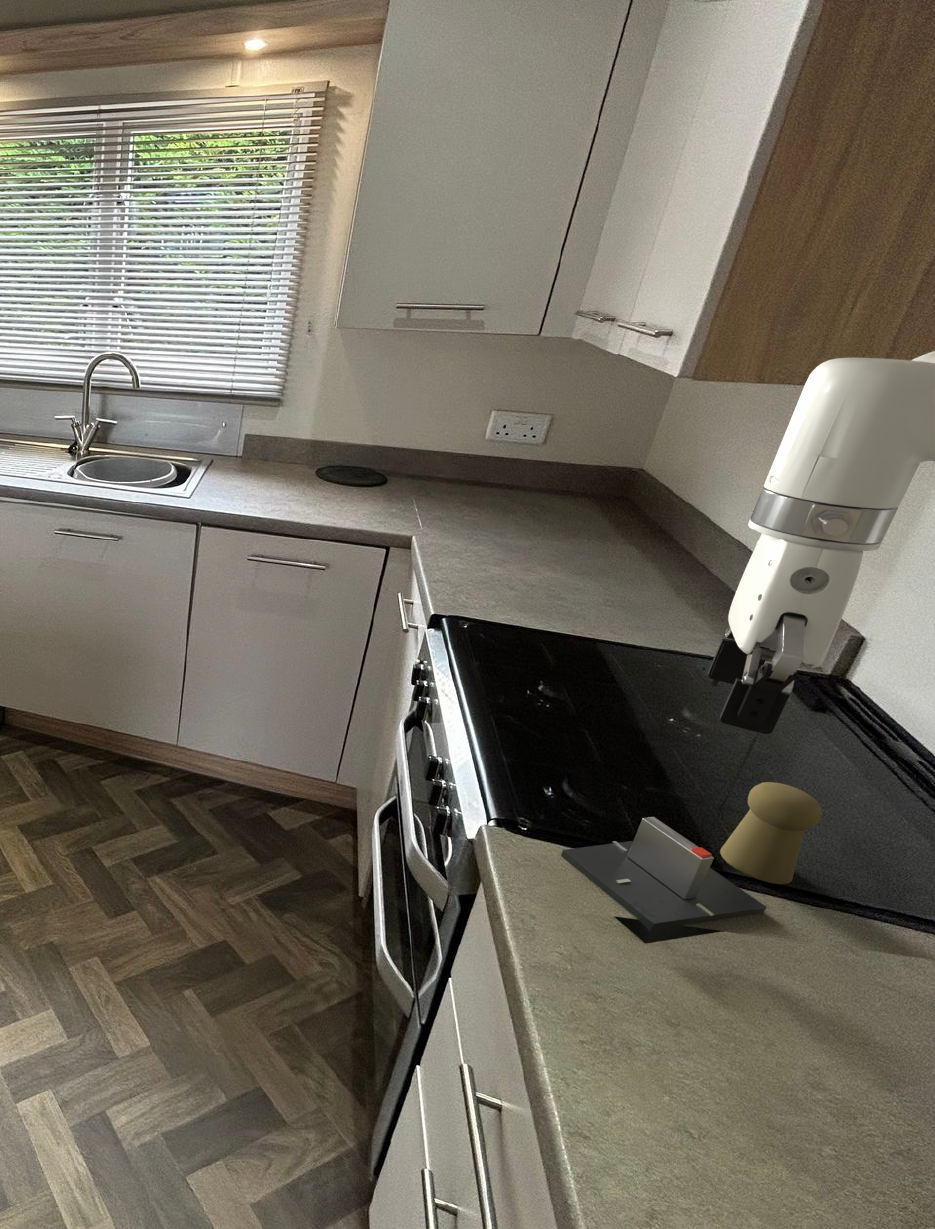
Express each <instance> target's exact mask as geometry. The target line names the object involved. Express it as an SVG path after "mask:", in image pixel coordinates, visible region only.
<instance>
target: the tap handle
mask: <svg viewBox="0 0 935 1229" xmlns="http://www.w3.org/2000/svg"><path fill="white" fill-rule="evenodd" d="M632 841H633V843H632V846H631V848H630V851H629V853H628V856H627V857H628V858H630V859H631V860H632V861H634V862H635V863H636V864H638V865H639V866H640V867H642V868H643V869H644V870H646V871H647V872H648V873H650V874H651V875H652V876H654V877H655V878H656V879H658V880H659V881H660V882H662V883H663V884H664V885H666V886H667V887H668V888H670V889H671V890H672V891H674V892H675V893H676V894H678V895H679V896H680V897H682V898H683V899H691V898H696V897H697V894H698V892H699V890H700V888H701V886H702V883H703V881H704V879H705V877H706V875H707V872H708V870H709V868H711V865H713V864H712V863H713V861H714V859H715V857H714V856H713V855H712V853H711V852H709V851H707V850H706V849H705V848H703V847H702V846H701V847H699V846H698V845H696V844H695V843H694V842H692V841H690V840H689V839H687V838H686V837H684V836H683V835H682V834H680V833H678V832H677V831H675V830H674V829H672V828H671V827H669V826H668V825H667V824H665V823H664V822H662V821H661V820H659V819H657V817H655V816H650V817H649V816H648V817H642V819H641V821H640V824H639V826H638V828H637V830H636V834H635V835H634V838H633V840H632Z"/></svg>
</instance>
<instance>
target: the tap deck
mask: <svg viewBox="0 0 935 1229" xmlns="http://www.w3.org/2000/svg"><path fill="white" fill-rule="evenodd" d="M633 841H634V840H631V841H630V840H629V841H622V842H617V841H616V840H614V841H612V843H606V844H598V845H592V846H591V845H590V846H584V847H583V846H582V847H575V848H574V847H573V848H568V849H562V851H561V854H560V856H561V858H562V859H564V860H565V861H566V862H568V864H570V865H571V866H572V867H574V868H575V869H576V870H577V871H579V872H580V874H582V875H583V876H585V877H586V878H587V879H588V880H590V881H591V882H592V883H593V884H595V885H596V886H597V887H598V888H599V889H600V890H602V891H603V892H604V893H606V894H607V895H608V896H609V897H610V898H612V899H613V900H614V901H615V902H616V903H618V904H619V905H620V906H621V907H622V908H624V909H625V910H626V911H627V912H628V913H630V914H631V915H632V916H634V917H635V918H632V917H631V918H630V917H624V916H623V917H622V916H615V915H614V916H613V918H615V920H617V921H618V923H621V924H622V925H623V926H624V927H625V928H627V929H628V931H630V932H631V933H632V934H633V935H634V936H636V937H637V938H638V939H639V940H641V941H642V942H643V943H644V944H651V943H657V942H664V941H671V940H676V939H685V938H691V937H697V936H703V935H710V934H715V933H716V934H717V933H723V932H724V930H721V929H712V928H704V927H697V926H689V925H694V924H699V923H700V924H701V923H707V922H708V923H709V922H714V921H721V920H727V919H734V918H740V917H747V916H753V915H760V914H765V911H766V909H767V906H766V905H764V904H763V903H762V902H760V901H759V900H757V899H756V898H754V897H753V896H751V894H749V893H747V892H746V891H744V890H743V889H741V887H739V886H737V885H736V884H734V883H733V882H731V881H730V880H729V879H727V878H726V877H724V876H723V875H721V874H720V873H718V872H717V871H716V870H714V869H712V868H711V867H710V868H709V870H708V872H707V875H706V877H705V879H704V881H703V883H702V886H701V888H700V890H699V892H698V894H697V897H696V898H691V899H683V898H682V897H680V896H679V895H678V894H676V893H675V892H674V891H672V890H671V889H670V888H668V887H667V886H666V885H664V884H663V883H662V882H660V881H659V880H658V879H656V878H655V877H654V876H652V875H651V874H650V873H648V872H647V871H646V870H644V869H643V868H642V867H640V866H639V865H638V864H636V863H635V862H634V861H632V860H631V859H630V858H628V857H627V856H628V853H629V851H630V848H631V846H632V843H633Z"/></svg>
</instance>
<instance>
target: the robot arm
mask: <svg viewBox="0 0 935 1229" xmlns="http://www.w3.org/2000/svg"><path fill="white" fill-rule="evenodd" d="M800 393H801V394H800V396H799V398H798V401H797V404H796V406H795V408H794V411H793V413H792V416H791V418H790V421H789V423H788V425H787V428H786V430H785V432H784V435H783V437H782V440H781V442H780V445H779V446H778V450H777V452H776V455H775V457H774V459H773V462H772V464H771V466H770V469H769V471H768V474H767V477H766V479H765V481H764V484H763V486H762V489H761V492H760V494H759V497H758V499H757V502H756V504H755V506H754V509H753V511H752V514H751V516H750V518H749V521H748V523H747V526H748V528H750V529H751V530H752V531H756V532H757V533H759V534H761V535H760V537H759V539H758V540H757V541H756V543H755V544H756V545H755V547H754V549H753V551H752V554H751V556H750V558H749V560H748V562H747V564H746V567H745V569H744V571H743V574H742V575H741V579H740V581H739V584H738V586H737V588H736V591H735V594H734V596H733V599H732V602H731V605H730V608H729V610H728V617H727V620H728V624H729V625H728V627H727V628H726V631H725V636H724V637H721V640H720V643H719V644H718V647H717V649H716V652H715V654H714V657H713V658H712V661H711V664H710V666H709V669H708V671H707V676H708V678H709V679H711V680H712V681H713V680H714V681H718V682H723V683H726V684H731V685H732V687H731V689H730V692H729V694H728V696H727V699H726V701H725V703H724V706H723V708H722V710H721V713H720V715H719V719H720V721H721V723H722V724H724V725H727V726H728V725H729V726H732V727H736V728H739V729H743V730H747V731H751V732H755V733H759V734H763V735H770V734H772V733H773V732H774V730H775V728H776V725H777V724H778V721H779V720H780V717H781V715H782V713H783V710H784V709H785V706H786V704H787V702H788V700H789V698H790V696H791V693H792V692H793V688H794V685H795V681H796V680H797V678H798V676H797V675H798V673H797V672H798V671H797V670H798V669H799V667H800V666H801V665H802V664H804V665H805V667H806V668H809V669H816V668H819V667H821V666H822V665H823V664H824V662H825V661H826V657H827V655H828V653H829V650H830V648H831V645H832V643H833V640H834V638H835V635H836V634H837V631H838V628H839V626H840V624H841V621H842V618H843V617H844V613H845V611H846V609H847V607H848V604H849V600H850V598H851V595H852V593H853V590H854V587H855V584H856V582H857V579H858V575H859V572H860V569H861V565H862V561H863V555H864V552H871V551H877V550H879V549H880V547H881V545H882V544H883V541H884V539H885V537H886V534H887V533H888V530H889V528H890V526H891V524H892V522H893V520H894V518H895V516H896V513H897V512H898V509H899V507H900V505H901V503H902V501H903V499H904V498H905V496H906V493H907V491H908V489H909V487H910V485H911V482H912V480H913V478H914V477H915V475H916V472H917V470H918V468H919V466H920V464H921V463H924V462H935V350H934V351H931V352H927V353H925V354H923V355H920V356H917V357H915V358H913V359H896V358H882V357H881V358H880V357H879V358H878V357H854V356H853V357H838V358H837V357H836V358H832V359H828V360H826V361H824V362H821V363H820V364H819V365H817V366H816V367H815V368H814V369H813V370H812V371H811V373H810V374H809V375H808V378H807V380H806V381H805V383H804V386H803V389H802V391H801V392H800Z"/></svg>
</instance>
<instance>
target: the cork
mask: <svg viewBox="0 0 935 1229" xmlns="http://www.w3.org/2000/svg"><path fill="white" fill-rule="evenodd" d="M747 805H748V807H749V810H748V811H747V812H746V814H745V815H744V817H743V818H742V819H741V821H740V822H739V824H738V825H737V826H736V828H735V829H734V831H733V832H732V833H731V834H730V835H729V837H728V839H727V840H726V841H725V843H724V844H723V845H722V846H721V848H720V851H719V854H720V855H721V858H722V859H723V860H724V861H725V862H726V863H727V864H728V865H730V866H731V867H733V868H734V869H735V870H737V871H739V872H741V873H742V874H744V875H746V876H748V877H752V878H754V879H756V880H759V881H763V882H766V883H769V884H777V885H787V884H789V883H791V882H792V881H793V878H794V874H795V870H796V867H797V862H798V859H799V855H800V851H801V848H802V843H803V839H804V836H805V833H806V831H808V830H811V829H812V828H814V827H816V825H818V824H819V822H820V820H821V819H822V808H821V805H820V803H819V802H818V800H816V799H815V798H814V797H813V796H812V795H810V794H808V793H807V792H805V791H803V790H802V789H799V788H796V787H794V786H791V785H789V784H784V783H780V782H772V781H766V782H761V783H759V784H757V785H755V786H753V787H752V788H751V789H750V791H749V793H748V796H747Z"/></svg>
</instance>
